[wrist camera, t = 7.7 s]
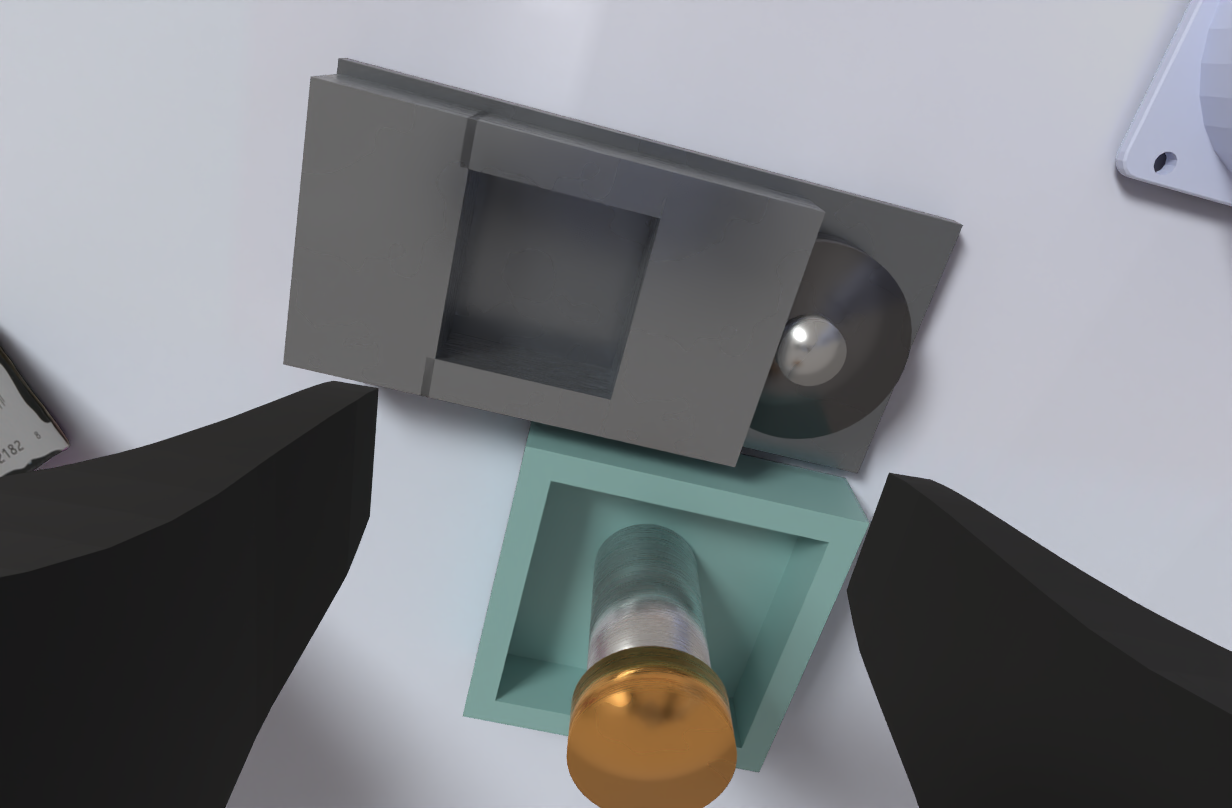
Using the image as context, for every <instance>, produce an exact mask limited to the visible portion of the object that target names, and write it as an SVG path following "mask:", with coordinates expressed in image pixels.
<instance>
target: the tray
mask: <svg viewBox="0 0 1232 808" xmlns="http://www.w3.org/2000/svg"><path fill="white" fill-rule="evenodd" d="M637 524H655V525H660V526H663V527H666V528H669V529H671V530H673V531H675V532H676V533H678V534H679V535H680V536H682V537H683V538H684V539H685V540H686V541H687V542H688V544H689V545H690V547H691V548H692V550H693V552H694V555H695V558H696V564H697V571H698V578H699V585H700V593H701V600H702V607H703V614H704V622H705V629H706V636H707V643H708V651H709V658H710V665H711V669H712V670H713V671H714V672H715V673H716V674H717V675H718V677H719V678H720V679H721V681H722V683H723V685H724V686H725V689H726V692H727V695H728V699H729V705H730V712H731V718H732V724H733V730H734V737H735V743H736V749H737V762H736V768H738V769H744V770H749V771H754V772H759V771H760V769H761V767H762V765H763V762H764V760H765V758H766V756H767V753H768V751H769V749H770V747H771V744H772V742H773V740H774V738H775V735H776V733H777V731H778V729H779V726H780V724H781V722H782V720H783V717H784V715H785V713H786V711H787V708H788V706H789V704H790V702H791V699H792V697H793V695H794V693H795V690H796V688H797V686H798V684H799V681H800V679H801V677H802V675H803V672H804V670H805V668H806V666H807V663H808V661H809V659H810V657H811V654H812V652H813V650H814V648H815V645H816V643H817V641H818V638H819V636H820V634H821V632H822V629H823V627H824V625H825V623H826V620H827V618H828V616H829V614H830V611H831V609H832V607H833V605H834V602H835V600H836V598H837V596H838V593H839V591H840V589H841V587H842V584H843V582H844V580H845V578H846V575H847V573H848V571H849V569H850V566H851V564H852V562H853V560H854V557H855V555H856V553H857V551H858V548H859V546H860V544H861V542H862V539H863V537H864V535H865V533H866V530H867V528H868V526H869V524H870V523H869V521H868V520H867V518H866V516H865V514H864V512H863V510H862V508H861V506H860V505H859V503H858V501H857V499H856V497H855V495H854V493H853V491H852V490H851V488H850V486H849V484H848V482H847V480H846V478H843V477H839V476H834V475H830V474H826V473H821V472H817V471H812V470H808V469H804V468H799V467H795V466H791V465H786V464H782V463H778V462H773V461H769V460H765V459H760V458H756V457H752V456H747V455H743V454H740V455H739V458H738V460H737V463H736V466H735V467H731V466H727V465H723V464H718V463H714V462H709V461H705V460H701V459H696V458H692V457H688V456H683V455H679V454H674V453H670V452H666V451H661V450H657V449H652V448H648V447H644V446H639V445H635V444H631V443H626V442H622V441H617V440H613V439H609V438H604V437H600V436H596V435H591V434H587V433H582V432H578V431H574V430H569V429H565V428H560V427H556V426H552V425H547V424H543V423H539V422H534V421H531V426H530V430H529V434H528V438H527V443H526V447H525V451H524V456H523V460H522V464H521V468H520V473H519V477H518V481H517V485H516V490H515V494H514V498H513V503H512V507H511V511H510V515H509V520H508V524H507V528H506V532H505V537H504V541H503V545H502V550H501V554H500V558H499V562H498V567H497V571H496V575H495V579H494V584H493V588H492V592H491V596H490V601H489V605H488V609H487V614H486V618H485V622H484V626H483V631H482V635H481V639H480V643H479V648H478V652H477V656H476V661H475V665H474V669H473V674H472V678H471V682H470V687H469V691H468V695H467V700H466V704H465V709H464V713H463V716H465V717H470V718H475V719H480V720H486V721H491V722H496V723H501V724H507V725H512V726H517V727H523V728H528V729H533V730H538V731H544V732H549V733H554V734H559V735H565V736H568V735H569V724H570V713H571V702H572V697H573V693H574V690H575V688H576V685H577V684H578V682H579V680H580V679H581V677H582V676H583V675H584V674H585V672H586V671H587V661H588V646H589V632H590V618H591V603H592V589H593V575H594V562H595V558H596V554H597V552H598V550H599V548H600V546H601V545H602V544H603V542H604V541H605V540H606V539H607V538H608V537H609V536H611V535H612V534H613V533H615V532H616V531H618V530H620V529H622V528H625V527H628V526H631V525H637Z"/></svg>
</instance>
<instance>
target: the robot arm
mask: <svg viewBox="0 0 1232 808" xmlns="http://www.w3.org/2000/svg"><path fill="white" fill-rule="evenodd" d="M1164 152H1165V154H1166V157H1167V159H1166V163H1165V165H1164V166H1163V168H1162V169H1161V170H1159V171H1157V172H1155V170H1154V163H1155V160H1156V159H1157V157H1158V156H1159V155H1160V154H1162V153H1164ZM1116 167H1117V169H1118V170H1119V172H1120V174H1122V175H1124V176H1126V177H1128V178H1132V179H1135V180H1139V181H1143V182H1146V183H1150V184H1153V185H1157V186H1160V187H1164V188H1168V189H1171V190H1175V191H1178V192H1182V193H1186V194H1189V195H1193V196H1196V197H1200V198H1203V199H1207V200H1211V201H1214V202H1218V203H1221V204H1225V205H1228V206H1232V0H1191V1H1190V3H1189V5H1188V7H1187V9H1186V11H1185V13H1184V15H1183V18H1182V20H1181V22H1180V24H1179V26H1178V28H1177V30H1176V32H1175V34H1174V36H1173V38H1172V40H1171V42H1170V44H1169V47H1168V49H1167V51H1166V53H1165V55H1164V57H1163V59H1162V61H1161V63H1160V65H1159V67H1158V69H1157V71H1156V73H1155V75H1154V78H1153V80H1152V82H1151V84H1150V86H1149V88H1148V90H1147V92H1146V94H1145V96H1144V98H1143V100H1142V102H1141V104H1140V107H1139V109H1138V111H1137V113H1136V115H1135V117H1134V119H1133V121H1132V123H1131V125H1130V127H1129V129H1128V131H1127V133H1126V135H1125V138H1124V140H1123V142H1122V144H1121V146H1120V148H1119V150H1118V153H1117V156H1116ZM378 389H379V388H374V387H368V386H362V385H356V384H350V383H344V382H338V381H330V382H326V383H322V384H319V385H316V386H313V387H310V388H307V389H304V390H301V391H299V392H296V393H294V394H291V395H288V396H286V397H283V398H281V399H278V400H275V401H273V402H270V403H268V404H265V405H262V406H260V407H257V408H255V409H252V410H249V411H247V412H244V413H242V414H239V415H236V416H234V417H231V418H228V419H226V420H223V421H220V422H217V423H214V424H211V425H208V426H205V427H202V428H199V429H196V430H193V431H190V432H187V433H184V434H181V435H178V436H175V437H172V438H169V439H166V440H163V441H160V442H157V443H153V444H150V445H146V446H143V447H139V448H136V449H132V450H128V451H124V452H121V453H117V454H113V455H108V456H104V457H100V458H96V459H92V460H87V461H83V462H79V463H75V464H70V465H65V466H61V467H56V468H50V469H44V470H38V471H32V472H26V473H21V474H15V475H9V476H3V477H0V808H225V807H226V804H227V802H228V800H229V798H230V795H231V793H232V791H233V789H234V786H235V784H236V782H237V779H238V777H239V775H240V773H241V770H242V768H243V766H244V763H245V761H246V759H247V757H248V754H249V752H250V750H251V747H252V745H253V743H254V741H255V738H256V736H257V734H258V732H259V730H260V729H261V727H262V725H263V723H264V721H265V719H266V717H267V715H268V713H269V711H270V709H271V707H272V705H273V703H274V702H275V700H276V698H277V697H278V695H279V693H280V691H281V690H282V688H283V686H284V684H285V683H286V681H287V679H288V677H289V676H290V674H291V672H292V670H293V669H294V667H295V665H296V664H297V662H298V660H299V658H300V657H301V655H302V653H303V651H304V650H305V648H306V646H307V644H308V643H309V641H310V639H311V637H312V636H313V634H314V632H315V631H316V629H317V627H318V625H319V624H320V622H321V620H322V618H323V617H324V615H325V613H326V611H327V609H328V608H329V606H330V604H331V602H332V601H333V599H334V597H335V595H336V594H337V592H338V590H339V588H340V586H341V585H342V583H343V581H344V579H345V577H346V576H347V573H348V571H349V569H350V566H351V564H352V561H353V559H354V556H355V554H356V551H357V549H358V546H359V544H360V541H361V538H362V536H363V533H364V530H365V528H366V525H367V522H368V520H369V517H370V505H371V491H372V476H373V462H374V447H375V433H376V418H377V404H378ZM847 594H848V600H849V605H850V610H851V615H852V620H853V625H854V629H855V633H856V637H857V642H858V646H859V650H860V653H861V656H862V659H863V662H864V664H865V667H866V670H867V672H868V675H869V678H870V680H871V683H872V686H873V688H874V691H875V694H876V696H877V699H878V702H879V704H880V707H881V709H882V712H883V714H884V717H885V720H886V722H887V725H888V727H889V730H890V732H891V735H892V737H893V740H894V743H895V745H896V748H897V750H898V753H899V755H900V758H901V761H902V763H903V766H904V768H905V771H906V773H907V776H908V778H909V781H910V784H911V786H912V789H913V791H914V794H915V797H916V800H917V803H918V806H919V808H1232V651H1229V650H1227V649H1225V648H1223V647H1221V646H1219V645H1217V644H1215V643H1213V642H1211V641H1209V640H1207V639H1205V638H1203V637H1201V636H1199V635H1197V634H1195V633H1193V632H1191V631H1189V630H1187V629H1185V628H1183V627H1181V626H1179V625H1177V624H1175V623H1173V622H1171V621H1170V620H1168V619H1166V618H1164V617H1162V616H1160V615H1158V614H1156V613H1154V612H1152V611H1151V610H1149V609H1147V608H1145V607H1143V606H1141V605H1140V604H1138V603H1136V602H1134V601H1132V600H1131V599H1129V598H1127V597H1126V596H1124V595H1122V594H1120V593H1119V592H1117V591H1115V590H1114V589H1112V588H1110V587H1108V586H1107V585H1105V584H1103V583H1102V582H1100V581H1098V580H1097V579H1095V578H1093V577H1091V576H1090V575H1088V574H1086V573H1085V572H1083V571H1081V570H1080V569H1078V568H1077V567H1075V566H1073V565H1072V564H1070V563H1068V562H1067V561H1065V560H1064V559H1062V558H1060V557H1059V556H1057V555H1056V554H1054V553H1053V552H1051V551H1049V550H1048V549H1046V548H1045V547H1043V546H1041V545H1040V544H1038V543H1037V542H1035V541H1034V540H1032V539H1031V538H1029V537H1027V536H1026V535H1024V534H1023V533H1021V532H1020V531H1018V530H1017V529H1015V528H1013V527H1012V526H1010V525H1009V524H1007V523H1006V522H1004V521H1003V520H1001V519H999V518H998V517H996V516H995V515H993V514H992V513H990V512H988V511H987V510H985V509H984V508H982V507H981V506H979V505H977V504H976V503H974V502H972V501H971V500H969V499H967V498H966V497H964V496H962V495H961V494H959V493H957V492H955V491H953V490H952V489H950V488H948V487H946V486H944V485H942V484H939V483H937V482H935V481H933V480H930V479H924V478H918V477H911V476H905V475H899V474H893V473H889V474H888V477H887V480H886V483H885V486H884V488H883V491H882V494H881V497H880V499H879V502H878V505H877V508H876V510H875V513H874V516H873V519H872V522H871V524H870V527H869V530H868V533H867V535H866V538H865V541H864V544H863V547H862V549H861V552H860V555H859V558H858V560H857V563H856V566H855V569H854V571H853V574H852V577H851V580H850V583H849V585H848V588H847Z"/></svg>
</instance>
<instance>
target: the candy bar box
mask: <svg viewBox="0 0 1232 808" xmlns="http://www.w3.org/2000/svg"><path fill="white" fill-rule="evenodd" d="M68 447H69V441H68V439H67V438H66V436H65V435H64V433H63V432H62V430H61V429H60V427H59V426H58V425H57V423H56V422H55V420H54V419H53V418H52V417H51V415H50V414H49V413H48V411H47V410H46V408H45V407H44V406H43V404H42V403H41V402H40V401H39V399H38V398H37V397H36V396H35V395H34V393H33V392H32V391H31V389H30V388H29V387H28V385H27V384H26V382H25V381H24V379H23V378H22V377H21V375H20V374H19V373H18V371H17V370H16V368H15V366H14V364H13V363H12V361H11V360H10V359H9V358H8V356H7V355H6V354H5V353H4V352H3V350H2V348H1V347H0V477H3V476H9V475H15V474H21V473H26V472H32V471H33V470H35V469H36V468H37V467H39V466H40V465H42V464H43V463H45V462H46V461H47V460H49V459H50V458H52V457H53V456H55V455H57V454H58V453H60V452H62V451H64V450H66V449H68Z"/></svg>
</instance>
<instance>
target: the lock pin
mask: <svg viewBox="0 0 1232 808" xmlns="http://www.w3.org/2000/svg"><path fill="white" fill-rule="evenodd" d="M736 762H737V749H736V743H735V737H734V730H733V724H732V718H731V712H730V705H729V699H728V695H727V692H726V689H725V686H724V685H723V683H722V681H721V679H720V678H719V677H718V675H717V674H716V673H715V672H714V671H713V670H712V669H711V665H710V658H709V651H708V643H707V636H706V629H705V622H704V614H703V607H702V600H701V593H700V585H699V578H698V571H697V564H696V558H695V555H694V552H693V550H692V548H691V547H690V545H689V544H688V542H687V541H686V540H685V539H684V538H683V537H682V536H680V535H679V534H678V533H676V532H675V531H673V530H671V529H669V528H666V527H663V526H660V525H655V524H637V525H631V526H628V527H625V528H622V529H620V530H618V531H616V532H615V533H613V534H612V535H611V536H609V537H608V538H607V539H606V540H605V541H604V542H603V544H602V545H601V546H600V548H599V550H598V552H597V554H596V558H595V562H594V575H593V589H592V603H591V618H590V632H589V646H588V661H587V671H586V672H585V674H584V675H583V676H582V677H581V679H580V680H579V682H578V684H577V685H576V688H575V690H574V693H573V697H572V702H571V713H570V724H569V735H568V746H567V765H568V769H569V773H570V775H571V777H572V779H573V781H574V783H575V784H576V786H577V788H578V789H579V790H580V791H581V792H582V793H583V795H584V796H586V797H587V798H588V799H589V800H590V801H591V802H593V803H594V804H596V805H597V806H599V807H600V808H703V807H705V806H706V805H708V804H709V803H711V802H712V801H713V800H715V799H716V798H717V797H718V796H719V795H720V794H721V793H722V792H723V791H724V789H725V788H726V787H727V785H728V784H729V782H730V780H731V779H732V777H733V774H734V771H735V768H736Z"/></svg>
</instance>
